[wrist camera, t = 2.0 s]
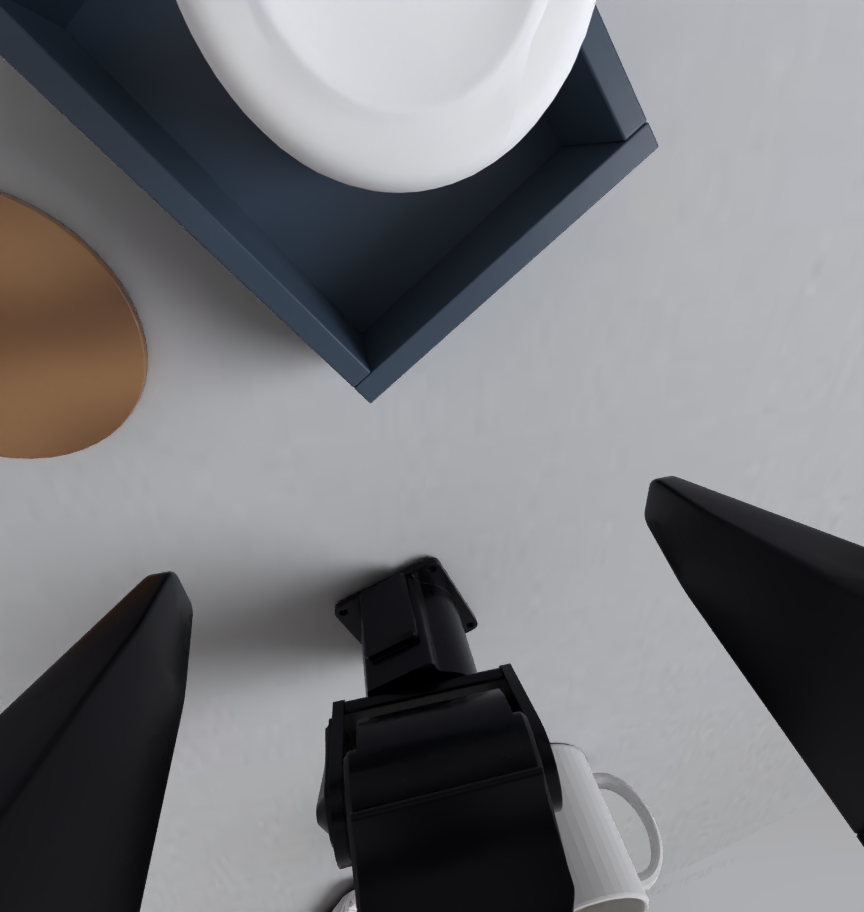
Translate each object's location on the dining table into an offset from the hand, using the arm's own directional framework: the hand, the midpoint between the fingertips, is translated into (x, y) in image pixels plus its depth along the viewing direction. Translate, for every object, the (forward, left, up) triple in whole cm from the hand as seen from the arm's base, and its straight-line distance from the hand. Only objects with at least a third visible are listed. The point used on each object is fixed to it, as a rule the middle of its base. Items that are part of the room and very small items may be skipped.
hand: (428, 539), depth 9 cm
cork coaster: (+6, +12, -13) cm, 19 cm away
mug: (-41, +5, -13) cm, 43 cm away
